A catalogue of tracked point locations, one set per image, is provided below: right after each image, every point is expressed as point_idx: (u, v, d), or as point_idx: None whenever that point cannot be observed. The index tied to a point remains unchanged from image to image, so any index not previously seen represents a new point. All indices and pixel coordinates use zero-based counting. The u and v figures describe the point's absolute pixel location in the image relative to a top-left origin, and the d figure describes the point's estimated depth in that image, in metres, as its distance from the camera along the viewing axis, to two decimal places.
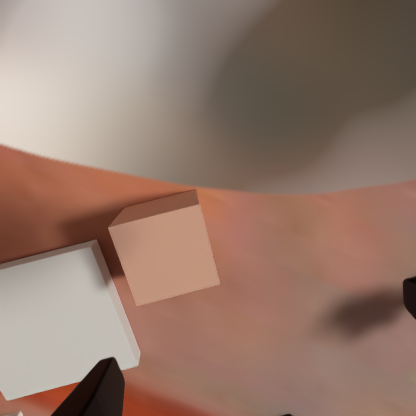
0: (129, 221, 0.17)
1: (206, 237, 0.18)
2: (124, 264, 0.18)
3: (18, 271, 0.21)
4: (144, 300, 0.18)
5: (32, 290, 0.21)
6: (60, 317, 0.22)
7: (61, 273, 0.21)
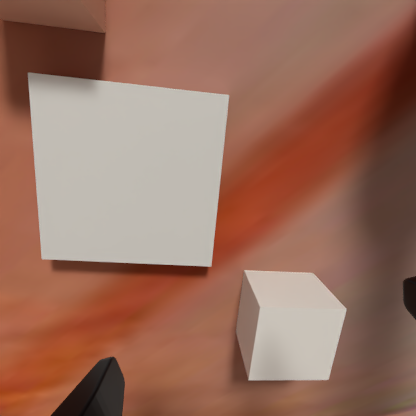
0: None
1: None
2: None
3: (43, 173, 0.17)
4: None
5: (73, 170, 0.17)
6: (119, 157, 0.17)
7: (58, 127, 0.17)
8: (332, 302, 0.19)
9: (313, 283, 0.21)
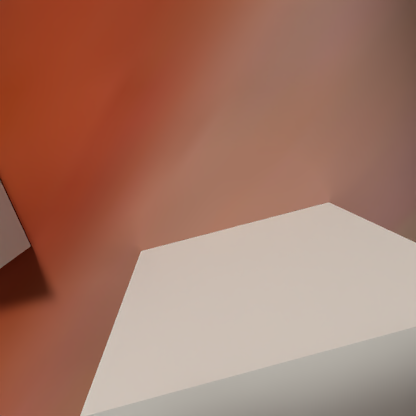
0: None
1: None
2: None
3: None
4: None
5: None
6: None
7: None
8: None
9: (336, 228, 0.07)
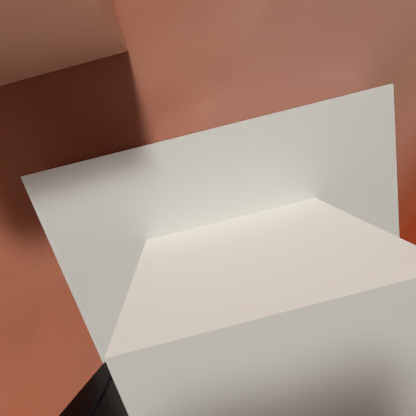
0: None
1: None
2: None
3: (102, 327, 0.10)
4: None
5: None
6: None
7: (103, 249, 0.09)
8: (391, 256, 0.05)
9: (319, 219, 0.07)
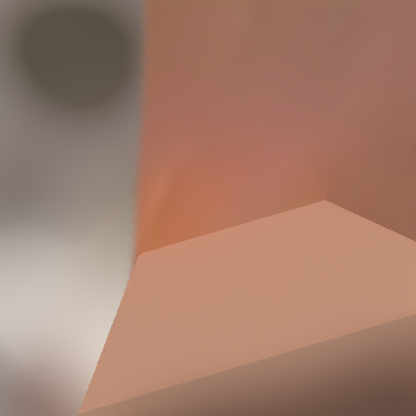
0: None
1: (250, 369, 0.04)
2: None
3: None
4: None
5: None
6: None
7: None
8: None
9: None
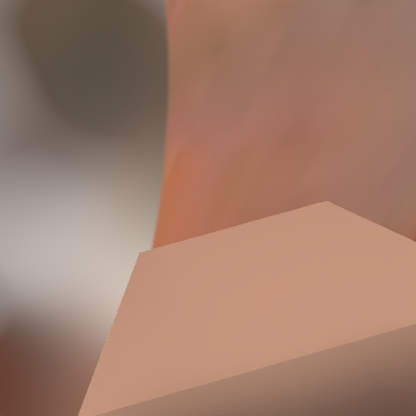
0: None
1: (254, 376, 0.03)
2: None
3: None
4: None
5: None
6: None
7: None
8: None
9: None
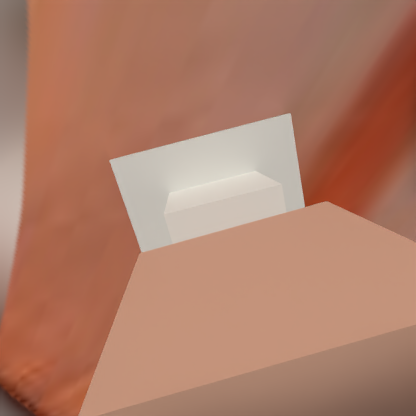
0: None
1: (255, 376, 0.03)
2: None
3: (145, 241, 0.19)
4: None
5: None
6: None
7: (147, 197, 0.18)
8: (265, 184, 0.14)
9: (250, 178, 0.16)
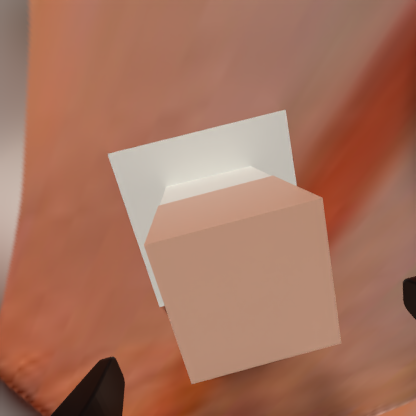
0: None
1: (214, 229, 0.09)
2: (259, 362, 0.10)
3: (142, 234, 0.19)
4: (332, 331, 0.10)
5: None
6: None
7: (144, 191, 0.18)
8: (259, 177, 0.14)
9: (245, 172, 0.17)
